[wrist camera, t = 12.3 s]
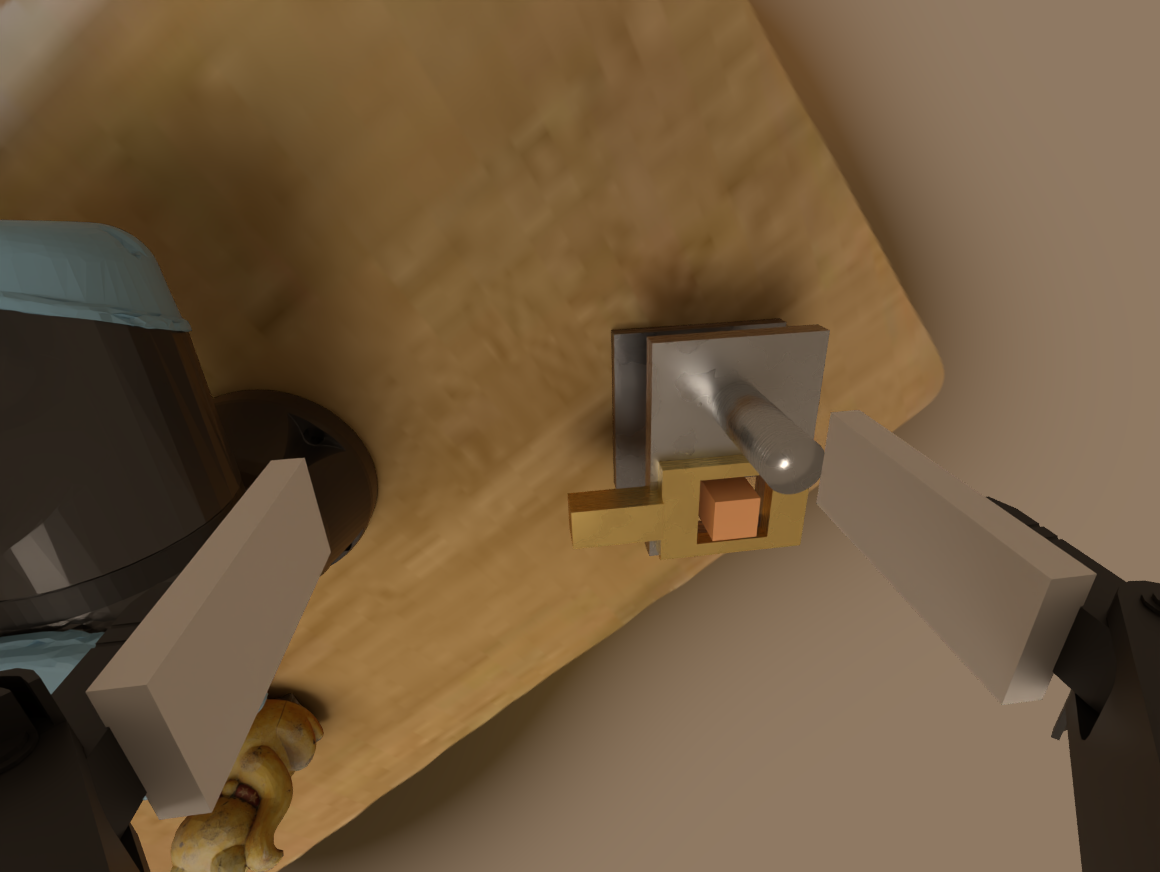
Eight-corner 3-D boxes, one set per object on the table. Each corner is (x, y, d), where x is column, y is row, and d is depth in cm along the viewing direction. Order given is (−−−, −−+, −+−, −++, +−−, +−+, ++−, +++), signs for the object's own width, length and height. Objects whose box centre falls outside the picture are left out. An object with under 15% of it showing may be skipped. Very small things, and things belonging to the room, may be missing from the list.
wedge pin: (673, 469, 47) (712, 541, 38) (674, 436, 46) (715, 502, 37) (708, 465, 47) (756, 536, 38) (710, 433, 46) (760, 497, 37)
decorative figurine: (256, 757, 57) (179, 940, 43) (197, 707, 53) (93, 891, 40) (340, 719, 56) (288, 895, 42) (286, 667, 52) (210, 840, 39)
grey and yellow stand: (561, 497, 48) (587, 653, 33) (549, 314, 41) (574, 402, 26) (761, 478, 50) (877, 618, 34) (781, 298, 43) (936, 372, 28)
